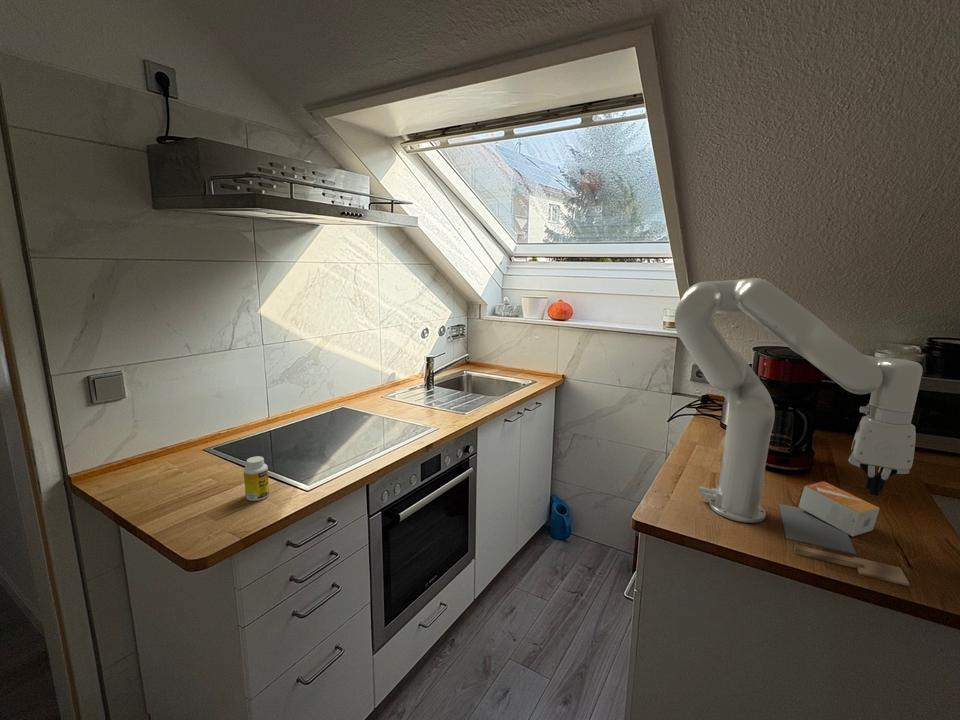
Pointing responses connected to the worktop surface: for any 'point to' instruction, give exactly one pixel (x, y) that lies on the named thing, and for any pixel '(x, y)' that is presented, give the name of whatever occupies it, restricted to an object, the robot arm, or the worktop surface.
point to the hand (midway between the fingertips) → (872, 492)
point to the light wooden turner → (858, 565)
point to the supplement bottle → (256, 479)
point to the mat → (813, 530)
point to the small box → (839, 508)
